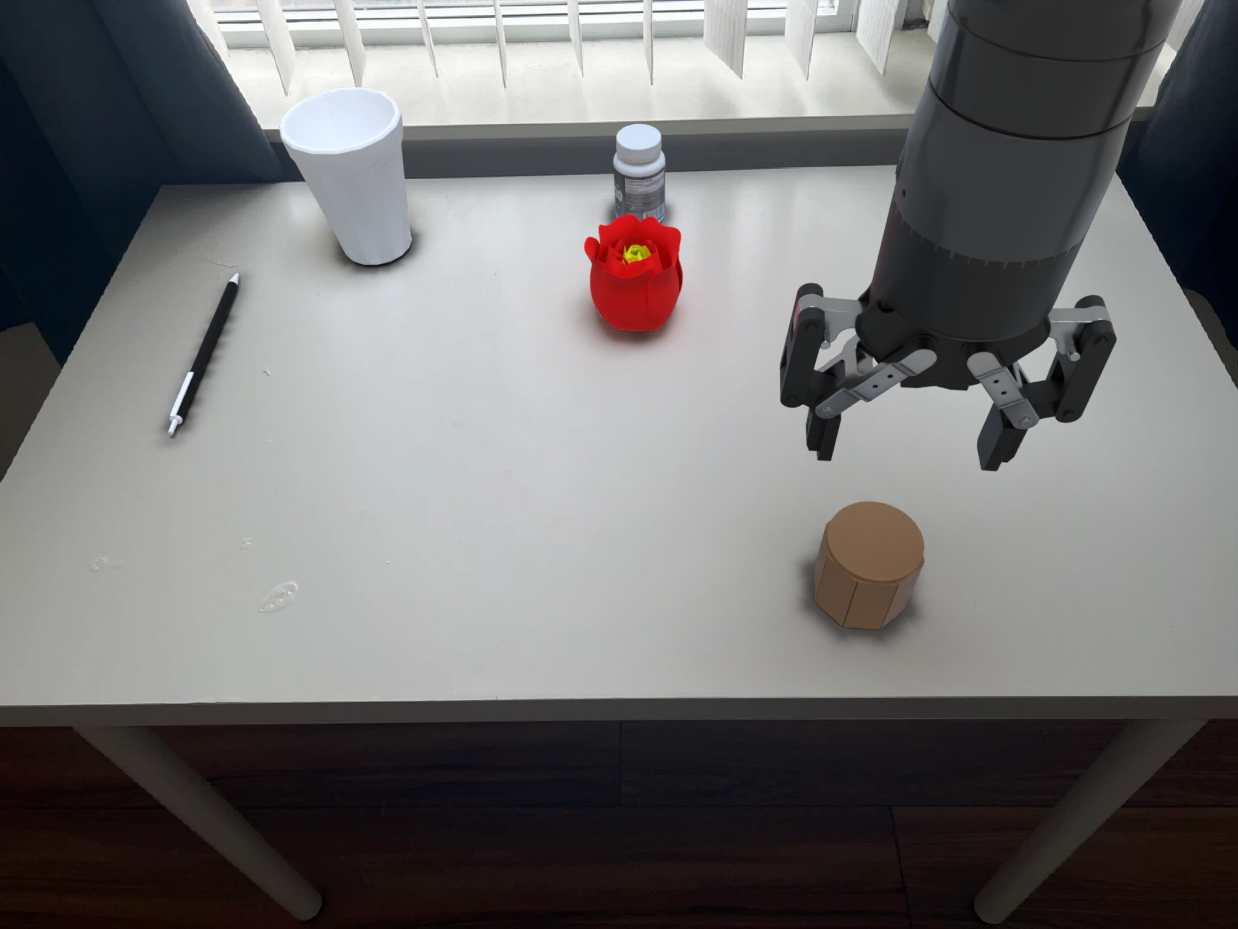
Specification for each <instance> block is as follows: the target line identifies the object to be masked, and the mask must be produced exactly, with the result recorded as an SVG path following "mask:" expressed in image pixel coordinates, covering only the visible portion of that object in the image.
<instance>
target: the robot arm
mask: <svg viewBox="0 0 1238 929" xmlns="http://www.w3.org/2000/svg"><path fill="white" fill-rule="evenodd" d="M1183 1H1184V0H947V2H946V6H945V10H944V14H943V19H942V22H941V26H940V31H939V34H938V38H937V42H936V46H935V50H934V54H933V58H932V62H931V66H930V67H931V68H930V70H929V73H928V76H927V79H926V82H925V86H924V89H923V91H922V94H921V96H920V99H919V101H918V103H917V106H916V109H915V111H914V114H913V116H912V119H911V122H910V125H909V129H908V132H907V135H906V138H905V142H904V146H903V148H902V151H901V152H900V153H899V156H898V159H897V163H896V168H895V173H894V175H895V182H894V183H895V184H894V187H893V191H892V196H891V200H890V205H889V208H888V214H887V216H886V221H885V226H884V229H883V233H882V237H881V241H880V246H879V250H878V254H877V258H876V261H875V266H874V271H873V275H872V279H871V282H870V283H869V285H868V287H867V288H866V289H865V291H864V292H862V293H861V294H860V295H859V297H858V298H857V299H849V298H837V297H828V296H827V297H826V296H824V288H823V287H822V286H821V285H820V284H818V283H816V282H808V283H804V284H802V285H801V286H799V287H798V289H797V291H796V296H795V299H794V304H793V307H792V312H791V317H790V321H789V324H788V329H787V333H786V337H785V341H784V345H783V350H782V353H781V358H780V362H779V401H780V404H781V405H782V406H783V407H785V408H789V409H796V408H798V407H802V405H803V406H806V407H807V408H808V412H807V415H806V421H805V440H806V441H805V443H806V444H805V445H806V447H807V450H808V452H816V460H817V462H818V461H820V462H832V459H833V455H834V452H835V446H836V443H837V439H838V435H839V430H840V427H841V422H842V413H844V412H845V411H846V410H848V409H849V408H851V407H853V406H854V405H856V404H857V403H859V402H860V401H863V402H864V403H870V402H872V401H873V400H875V399H876V398H878V397H879V396H881V395H882V394H884V393H886V392H887V391H889V390H891V388H894V387H895V386H897V385H898V384H899V387H900V388H904V389H922V388H923V389H924V388H931V387H937V388H942V389H946V390H948V391H961V392H962V391H963V392H964V391H965V392H968V390H969V388H970V387H973V386H977V385H980V384H981V386H982V387H983V389H984V390H985V391H986V393H987V395H988V396H989V397H990V399H991V400H992V404H991V407H990V409H989V412H988V414H987V415H986V418H985V421H984V423H983V425H982V426H981V427H982V428H981V429H980V432H979V434H978V435H977V436H978V437H977V439H976V440H977V442H976V451H977V455H978V461H979V462H978V463H979V467H980V471H982V472H998V470H999V468H1000V467H1001V464H1002V463H1007V464H1008V463H1009V462H1010V461H1012V460H1013V459H1014V458H1015V457H1016V455H1017V452H1018V451H1019V449H1020V447H1021V444H1022V443H1023V441H1024V439H1025V436H1026V435H1027V433H1028V430H1029V429H1031V428H1034V427H1035V426H1037V425H1038V424H1039V422H1040V420H1043V419H1050V418H1053V417H1054V418H1055V420H1056V421H1057V422H1058V423H1061V424H1063V423H1064V424H1070V423H1074V422H1076V421H1078V420H1079V419H1081V418H1082V416H1083V414H1084V412H1085V410H1086V408H1087V406H1088V404H1089V402H1090V399H1091V397H1092V396H1093V393H1094V391H1095V388H1096V387H1097V384H1098V382H1099V380H1100V378H1101V376H1102V373H1103V371H1104V369H1105V367H1106V365H1107V363H1108V361H1109V359H1110V356H1111V354H1112V352H1113V350H1114V348H1115V346H1116V343H1117V340H1118V337H1117V335H1116V332H1115V328H1114V326H1113V325H1114V324H1113V322H1112V320H1111V317H1110V313H1109V310H1108V309H1107V305H1106V302H1105V300H1104V298H1103V297H1102V296H1100V295H1098V294H1089V295H1085V296H1083V297H1081V298H1080V299H1079V300H1077V301H1076V303H1075V305H1074V306H1073V307H1065V308H1064V307H1058V308H1057V307H1055V304H1056V302H1057V300H1058V298H1059V296H1060V293H1061V291H1062V289H1063V287H1064V285H1065V282H1066V281H1067V278H1068V276H1069V273H1070V272H1071V269H1072V267H1073V265H1074V263H1075V260H1076V259H1077V256H1078V254H1079V252H1080V250H1081V247H1082V245H1083V243H1084V240H1085V239H1086V236H1087V234H1088V232H1089V231H1090V227H1091V225H1092V223H1093V221H1094V219H1095V217H1096V214H1097V213H1098V210H1099V208H1100V206H1101V203H1102V201H1103V200H1104V197H1105V195H1106V194H1107V193H1106V192H1107V191H1108V190H1109V189H1108V188H1109V186H1110V184H1111V182H1112V179H1113V178H1114V175H1115V172H1116V169H1117V166H1118V165H1119V161H1120V157H1121V155H1122V152H1123V147H1124V144H1125V140H1126V137H1127V133H1128V129H1129V126H1130V123H1131V121H1132V118H1133V116H1134V113H1135V110H1136V107H1137V106H1138V103H1139V101H1140V99H1141V97H1142V94H1143V92H1144V90H1145V88H1146V86H1147V84H1148V81H1149V79H1150V78H1151V75H1152V72H1153V69H1154V68H1155V66H1156V64H1157V62H1158V59H1159V57H1160V55H1161V52H1162V50H1163V48H1164V46H1165V43H1166V42H1167V39H1168V37H1169V35H1170V32H1171V30H1172V29H1173V26H1174V24H1175V21H1176V18H1177V16H1178V14H1179V11H1180V8H1181V6H1182V4H1183ZM850 329H854V332H855V334H854V335H853V336H851V337H850V338H849V339H848V340H846V342H845V343H844V345H843V347H842V350H841V352H839V353H838V354H837V355H835V357H833V358H832V359H830V360H829V361H828V362H826V363H825V364H824V365H822V366H821V367H819V368H818V369H815V367H816V363H817V360H818V357H819V354H820V349H821V350H828V349H830V348H831V343H833V342H835V340H837V338H838V336H839V334H841V333H842V332H843V331H846V330H850ZM1048 338H1051V339H1052V340H1054V343H1055V347H1056V352H1055V355H1054V357H1053V360H1052V362H1051V364H1050V368H1049V370H1048V372H1047V374H1046V377H1045V379H1043V380H1037V381H1030V379H1029V377H1028V375H1027V374H1026V372H1025V370H1024V369H1023V368H1022V366H1021V364H1020V363H1019V360H1021V359H1023V358H1025V357H1026V356H1027V355H1029V354H1031V353H1032V352H1034V351H1036V350H1037V349H1038V348H1040V347H1042V346H1043V345H1044V344H1045V343H1046V341H1048ZM873 361H875V362H876V363H877V365H875V366H874V364H873Z"/></svg>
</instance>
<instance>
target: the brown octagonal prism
mask: <svg viewBox="0 0 1238 929" xmlns="http://www.w3.org/2000/svg"><path fill="white" fill-rule="evenodd" d="M924 540H925V539H924V536H923V534H922V531H921V530H920V528H919V526H918V525H917V523H916V522H915V521H914V520H913V519H912V517H910V516H909V515H908V514H907V513H905V512H904V511H903V510H901V509H899V508H898V507H895V506H893V505H891V504H888V503H884V502H880V501H874V500H873V501H871V500H870V501H868V500H866V501H859V502H854V503H850V504H848V505H846V506H844V507H843V508H841V509H839V511H838V512H836V513H835V514H834V515H833V517H832V518H831V519H830V520H828V522H827V523H826V524H825V525H824V530H823V534H822V538H821V542H820V546H819V550H818V554H817V557H816V562H815V565H814V570H813V588H814V591H813V592H814V602H815V604H816V605H817V606H819V607H820V608H821V609H822V610H823V611H824V612H825V613H826V614H827V615H829V616H830V618H832V619H833V620H834V621H835V622H836V623H837V624H838V625H840V626H841V627H843V628H849V629H861V630H862V629H863V630H878V631H880V630H882V629H883V628H885V627H886V626H887V625H888V624H889V623H890V622H892V621H893V620H894V619H895V618H896V617H898V615H900V614H901V613H902V612H903V611H904V610H905V608H906V606H907V604H908V602H909V599H910V597H911V595H912V593H913V590H914V588H915V586H916V583H917V581H918V579H919V576H920V574H921V572H922V569H923V567H924V565H925V541H924Z"/></svg>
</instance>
